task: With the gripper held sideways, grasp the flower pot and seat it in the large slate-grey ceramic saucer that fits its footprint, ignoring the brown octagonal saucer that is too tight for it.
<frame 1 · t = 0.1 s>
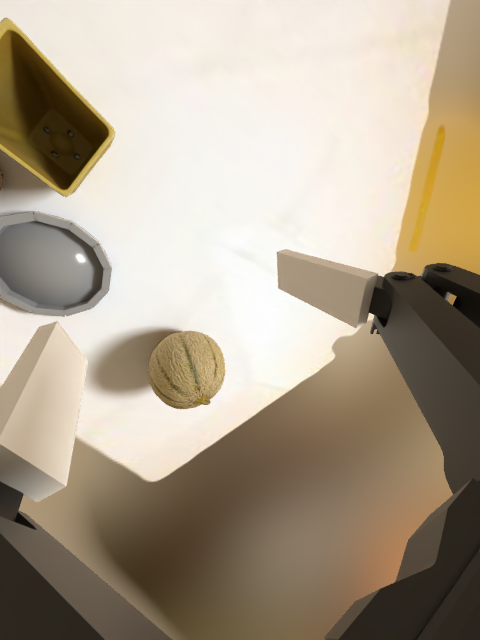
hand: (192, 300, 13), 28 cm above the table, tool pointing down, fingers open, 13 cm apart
grey saucer: (54, 266, 30), on the table
flower pot: (62, 144, 26), on the table
cantaloupe: (179, 348, 47), on the table
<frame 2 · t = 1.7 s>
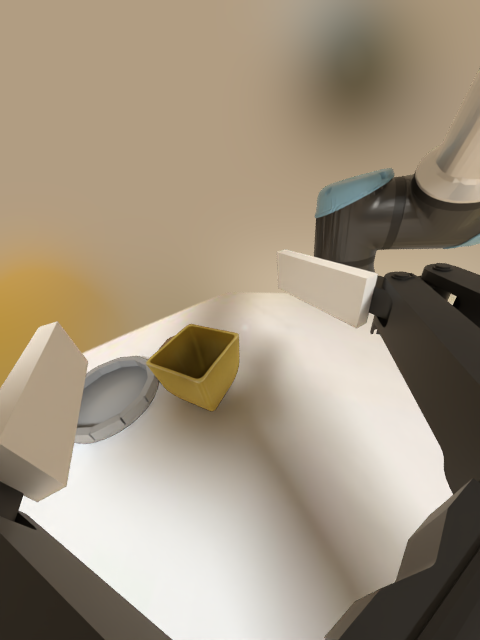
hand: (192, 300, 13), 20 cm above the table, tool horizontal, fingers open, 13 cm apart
grey saucer: (113, 397, 33), on the table
flower pot: (209, 392, 31), on the table
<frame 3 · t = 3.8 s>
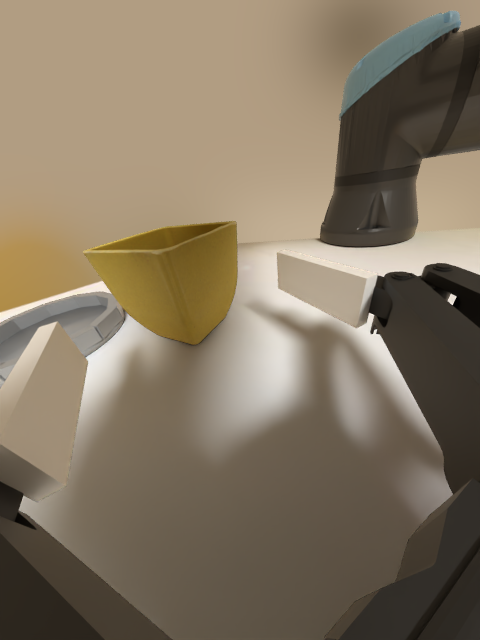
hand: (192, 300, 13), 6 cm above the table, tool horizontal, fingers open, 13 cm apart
grey saucer: (58, 337, 23), on the table
flower pot: (194, 327, 21), on the table
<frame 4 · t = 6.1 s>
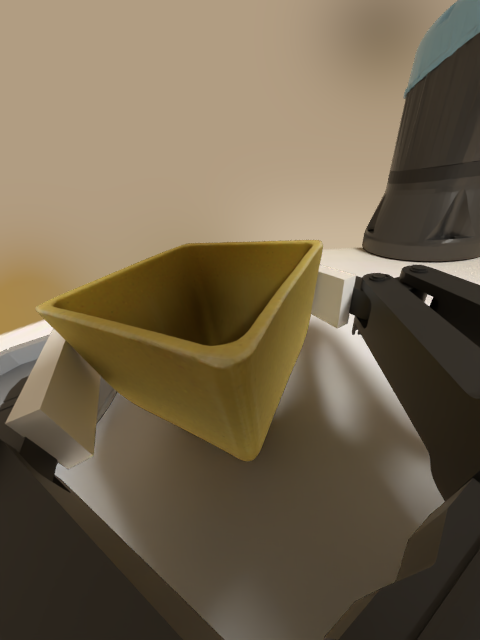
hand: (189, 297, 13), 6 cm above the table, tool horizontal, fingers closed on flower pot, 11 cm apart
grey saucer: (22, 409, 15), on the table
flower pot: (231, 402, 14), on the table, touching gripper
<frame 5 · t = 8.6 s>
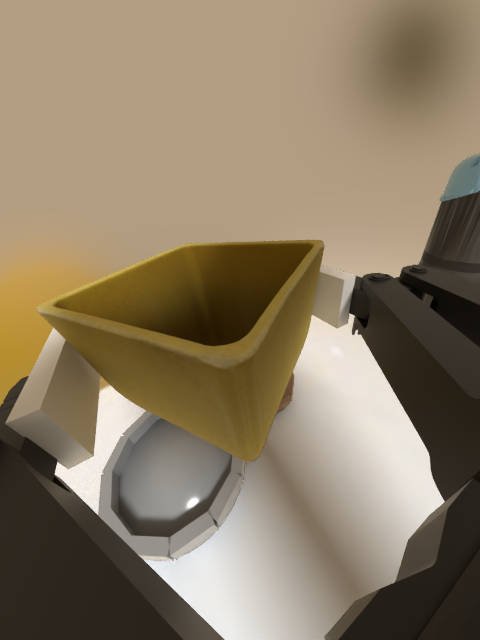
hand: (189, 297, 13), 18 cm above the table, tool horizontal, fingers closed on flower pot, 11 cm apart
grey saucer: (180, 461, 22), on the table
flower pot: (232, 402, 14), point 12 cm above the table, touching gripper
brown octagonal saucer: (264, 389, 28), on the table
when the fingers open (8 cm above the table, at t = 11.6 s): flower pot drops 1 cm, resting on grey saucer.
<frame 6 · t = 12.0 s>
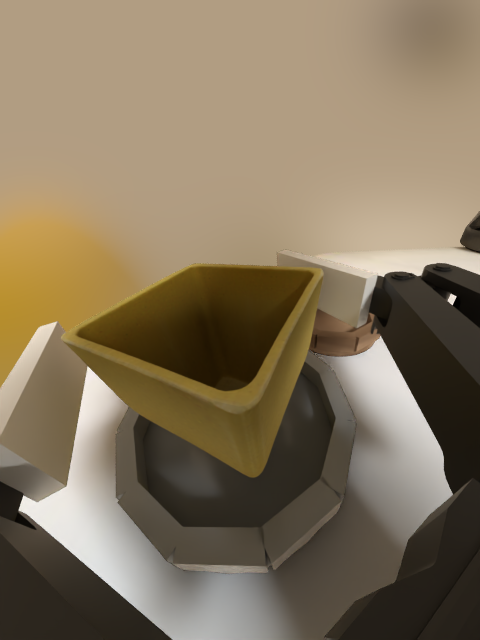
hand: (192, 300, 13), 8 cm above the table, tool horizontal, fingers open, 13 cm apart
grey saucer: (235, 417, 15), on the table
flower pot: (236, 414, 14), resting on grey saucer
brown octagonal saucer: (331, 329, 21), on the table
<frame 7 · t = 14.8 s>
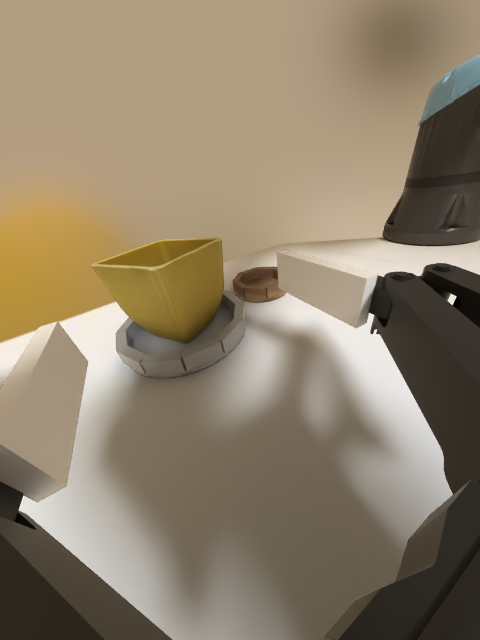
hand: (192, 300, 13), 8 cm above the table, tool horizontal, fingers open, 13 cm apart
grey saucer: (187, 331, 25), on the table
flower pot: (186, 328, 24), resting on grey saucer
brown octagonal saucer: (261, 289, 31), on the table
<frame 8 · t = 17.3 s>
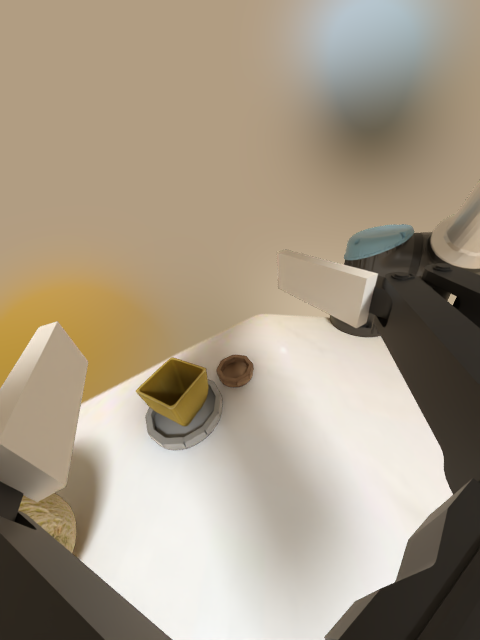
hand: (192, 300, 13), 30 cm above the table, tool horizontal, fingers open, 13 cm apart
grey saucer: (187, 411, 41), on the table
flower pot: (186, 410, 40), resting on grey saucer
cantaloupe: (30, 589, 24), on the table
brown octagonal saucer: (236, 373, 47), on the table
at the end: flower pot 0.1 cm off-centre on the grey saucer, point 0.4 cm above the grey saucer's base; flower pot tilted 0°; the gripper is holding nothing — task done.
